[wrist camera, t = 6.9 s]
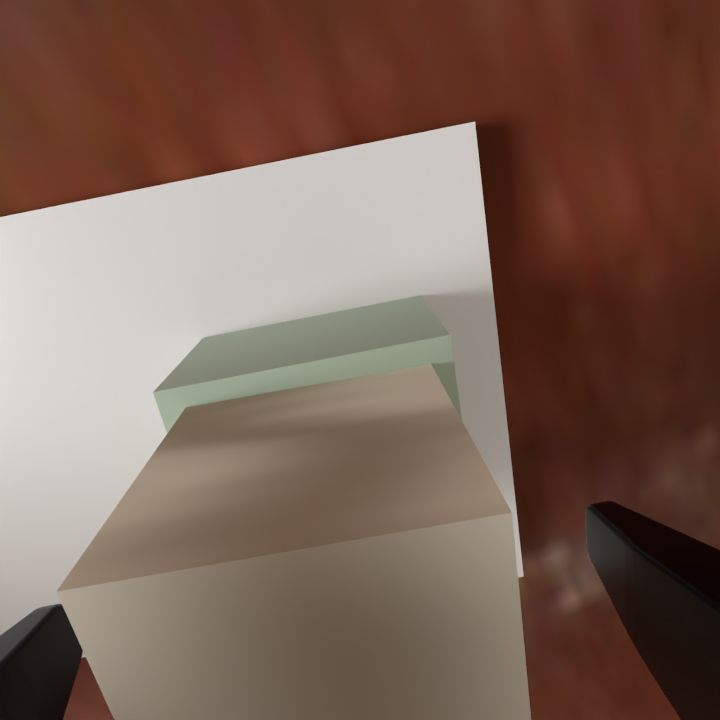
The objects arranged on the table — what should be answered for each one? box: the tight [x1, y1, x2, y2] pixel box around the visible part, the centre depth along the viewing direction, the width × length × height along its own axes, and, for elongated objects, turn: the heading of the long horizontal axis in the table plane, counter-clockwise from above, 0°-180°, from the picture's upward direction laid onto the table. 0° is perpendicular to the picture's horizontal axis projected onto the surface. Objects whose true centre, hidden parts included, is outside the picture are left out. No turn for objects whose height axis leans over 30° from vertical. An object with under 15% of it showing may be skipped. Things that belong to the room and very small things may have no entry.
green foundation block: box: [153, 296, 462, 433], centre depth 13 cm, size 6×6×4 cm
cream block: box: [56, 364, 531, 720], centre depth 9 cm, size 5×5×5 cm
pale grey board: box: [0, 122, 523, 658], centre depth 15 cm, size 20×14×1 cm
